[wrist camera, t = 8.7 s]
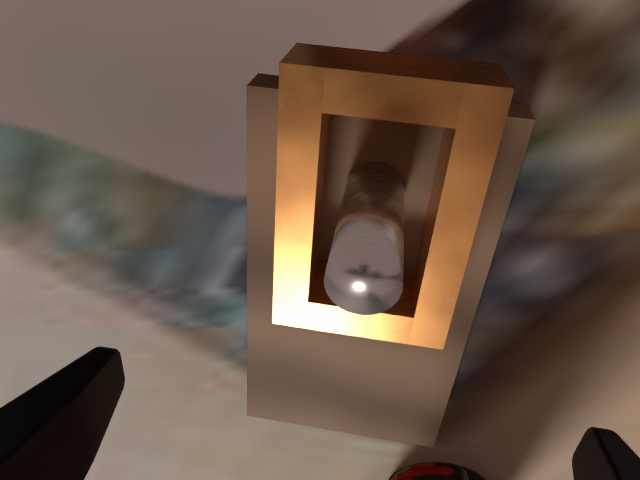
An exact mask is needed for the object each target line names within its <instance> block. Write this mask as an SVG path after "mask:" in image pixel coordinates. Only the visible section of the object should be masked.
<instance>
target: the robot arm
mask: <svg viewBox="0 0 640 480" xmlns="http://www.w3.org/2000/svg"><path fill="white" fill-rule="evenodd" d="M124 383H125V376H124V371H123V365H122V360H121V355H120V352H119V351H118V350H117V349H113V348H107V347H96V348H94V349H92V350H91V351H89V352H88V353H86V354H84V355H83V356H81V357H80V358H78V359H77V360H75V361H73V362H72V363H70V364H69V365H67V366H66V367H64V368H62V369H61V370H59V371H58V372H56V373H55V374H53V375H51V376H50V377H48V378H47V379H45V380H44V381H42V382H40V383H39V384H37V385H36V386H34V387H33V388H31V389H29V390H28V391H26V392H25V393H23V394H22V395H20V396H18V397H17V398H15V399H14V400H12V401H11V402H9V403H7V404H6V405H4V406H3V407H1V408H0V480H84V478H85V477H86V475H87V473H88V471H89V469H90V467H91V465H92V463H93V461H94V459H95V456H96V454H97V452H98V449H99V447H100V445H101V442H102V440H103V437H104V435H105V432H106V430H107V427H108V425H109V422H110V420H111V418H112V415H113V413H114V410H115V408H116V405H117V403H118V400H119V398H120V396H121V393H122V391H123V388H124ZM572 468H573V476H574V480H640V458H639V457H638V456H637V455H636V454H635V453H634V451H633V450H632V449H631V448H630V447H629V446H628V445H627V444H626V443H625V442H624V441H623V440H622V439H621V437H620V436H619V435H618V434H617V433H615V432H614V431H612V430H608V429H602V428H596V427H590V428H589V429H587V431H586V432H585V434H584V436H583V437H582V439H581V441H580V443H579V445H578V446H577V448H576V450H575V452H574V454H573V459H572Z"/></svg>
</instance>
